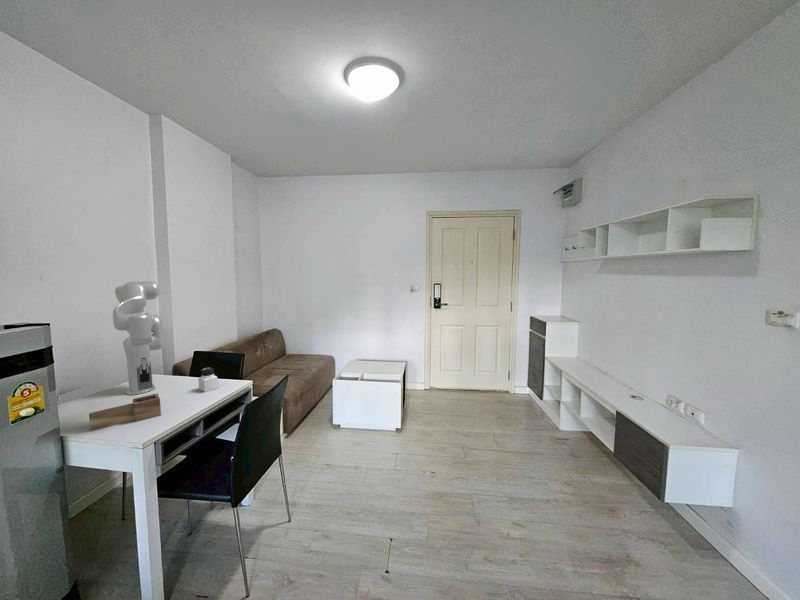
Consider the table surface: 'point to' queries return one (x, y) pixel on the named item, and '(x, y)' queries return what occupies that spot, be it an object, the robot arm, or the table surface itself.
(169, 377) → the table surface
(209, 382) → the medicine bottle
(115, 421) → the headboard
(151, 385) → the grey upright block
